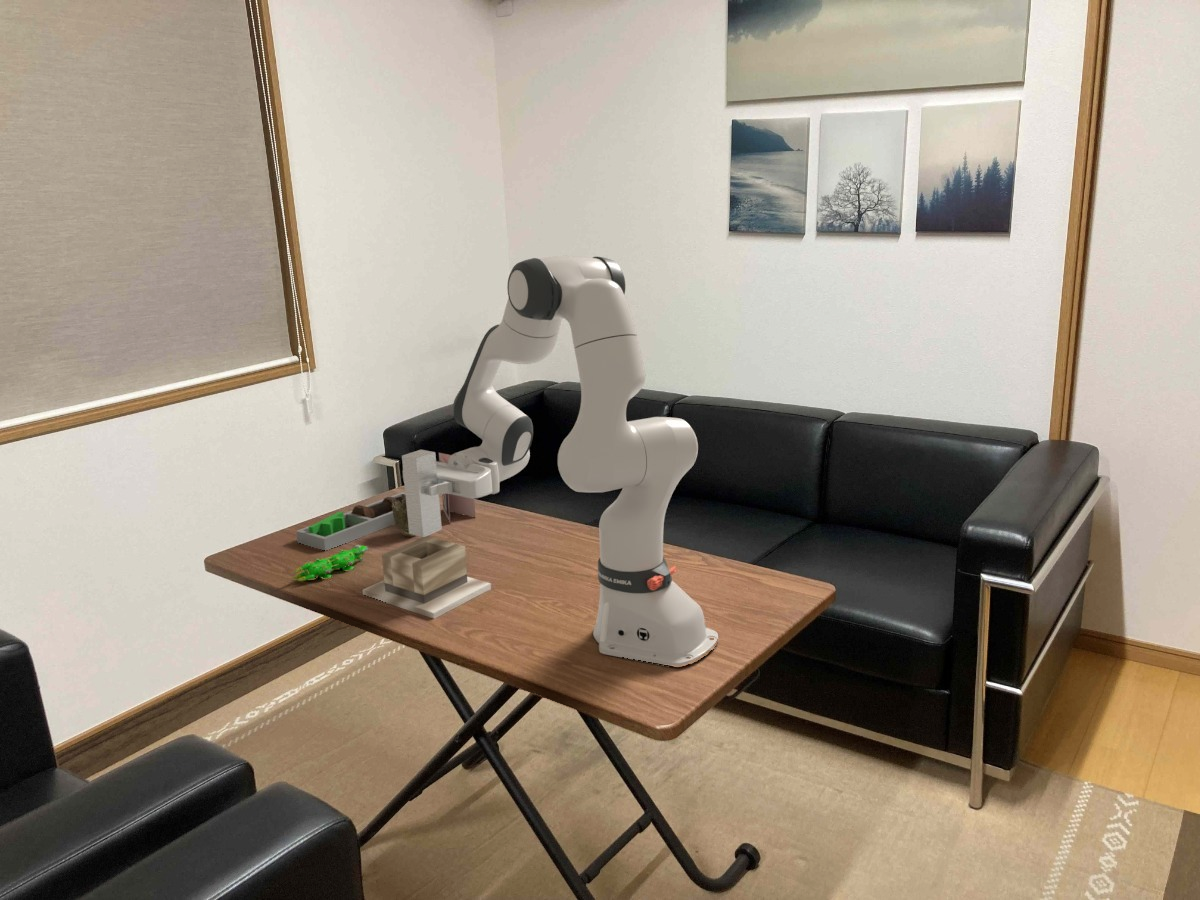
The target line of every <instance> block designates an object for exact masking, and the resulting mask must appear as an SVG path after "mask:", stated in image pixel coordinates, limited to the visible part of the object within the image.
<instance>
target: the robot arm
mask: <svg viewBox="0 0 1200 900" xmlns="http://www.w3.org/2000/svg"><path fill="white" fill-rule="evenodd" d="M506 289H507V295H508V298H507V302H506V306H505V308H504V312H503V316H502V320H501V322H500V323H499V324H495V325H494V326H492V327H490V328H489V329H488V330H487V332H486V333H485V334H484V336H483V338H482V340H481V341H480V343H479V346H478V348H477V350H476V353H475V355H474V358H473V361H472V363H471V365H470V368H469V371H468V373H467V376H466V377H465V380H464V383H463V385H461V388H459V389H460V390H459V391H458V393H457V394H456V396H455V398H454V400H453V407H452V408H453V409H452V411H453V418H454V420H455V422H456V423H457V424H459V425H461V426H462V427H464V428H465V429H467V430H468V431H470V432H472V433H473V434H475V435H476V436H477V437H478V438H480V439H481V440H482V443H481V444H480V445H479V446H473V447H469V448H466V449H464V450H460V451H458V452H454V453H453V454H451V455H452V456H451V457H450V458H449V460H448V463H442V462H439V461H438V462H437V461H436V467H437V479H438V484H436V485H429V486H426V488H425V490H426V495H430V496H434V495H437V494H439V495H442V494H447V493H448V494H453V495H457V496H462V497H467V498H474V499H479V498H483V497H486V496H488V495H495V494H498V493H499V492H500V483H501V482H503V481H505V480H507V479H510V478H511V477H514V476H515V475H517V474H519V473H520V472H521V471H522V470H524V468H526V466H527V465H528V463H529V460H530V457H531V455H530V454H531V452H530V451H531V450H530V447H531V446H532V442H533V438H534V425H533V422H532V421H533V420H532V419H531V418H530V417H529V415H527V414H525V413H524V412H523V411H522V410H520V409H519V408H518V407H516V406H515V405H513V404H512V403H511V402H509V401H508V400H507V399H505V398H504V397H502V396H501V395H500V394H499V393H498V392H497V391H496V389H495V387H494V386H493V382H494V380H495V377H496V375H497V372H498V370H499V367H500V365H501V363H502V361H503V362H507V363H510V364H511V363H512V364H514V365H515V364H516V365H531V364H535V363H538V362H541V361H542V360H545V359H546V358H547V357H548V356H550V354H551V353H552V352H553V350H554V348H555V346H556V343H557V340H558V336H559V334H560V333H559V332H560V328H561V325H562V320H563V319H565V320H566V321H567V322H568V324H569V326H570V327H569V328H570V330H571V337H572V344H573V348H574V354H575V359H576V364H577V369H578V370H577V371H578V375H579V383H580V392H581V394H580V395H581V397H580V398H581V399H580V407H579V411H578V415H577V418H576V421H575V423H574V426H572V427H573V428H572V429H571V431H569V433H568V435H567V436H566V437H565V438H564V439H563V441H562V443H561V444H560V447H559V449H558V453H557V467H558V468H557V469H558V471H559V474H560V477H561V478H562V480H563V482H564V483H565V485H567V487H569V488H570V489H572V491H575V492H576V493H577V492H578V493H605V492H610V491H615V490H620V489H622V490H621V491H620V493H619V494H618V495H617V498H616V499H615V500H614V501H613V503H611V504H610V505H609V506H608V507H607V508H606V509H605V510H604V511H603V513H602V514H601V516H600V519H599V525H598V533H599V558H598V561H597V579H598V582H599V585H600V586H599V599H598V600H599V601H598V609H597V616H596V621H595V625H594V628H593V631H592V635H593V637H594V639H595V641H596V642H597V643H598V651H599V653H600V654H602V655H607V656H613V657H618V658H622V657H624V659H627V658H628V659H629V660H633V659H635V660H634V661H638V660H641V661H640V662H643V661H646V662H645V663H648V662H652V663H651V664H653V662H654V663H660V664H667V665H668V664H669V665H677V666H679V665H683V664H686V663H689V662H692V661H694V660H696V659H698V658H699V657H701V656H702V655H703V654H705V653H706V652H707V651H708V650H710V649H711V648H712V647H713V646H714V644H715V643H716V641H717V639H718V640H719V634H718V632H717V631H715V630H713V629H712V628H709V627H706V620H705V615H704V612H703V609H702V607H701V606H700V605H699V604H698V603H697V602H696V601H695V600H694V599H693V598H691V597H690V596H689V595H688V594H687V592H685V591H684V590H683V589H682V588H681V587H680V586H679V585H678V584H677V583H676V582H674V581H673V577H672V575H674V574H675V573H676V572H677V570H676V568H677V565H674V566H672V567H669V566H668V564H667V561H666V559H665V557H664V529H665V528H664V526H665V525H664V523H665V518H666V513H667V509H668V505H669V503H670V501H671V498H672V495H673V493H674V491H675V490H676V487H677V486H678V485H679V482H680V481H681V480H682V478H683V477H684V476H685V475H686V474H687V473H688V472H689V471H690V469H692V467H693V466H694V464H695V463H696V460H697V457H698V455H699V454H698V451H699V443H698V438H697V436H696V432H695V430H694V429H693V428H692V426H691V425H690V424H689V423H688V422H687V421H686V420H685V419H684V418H683V419H682V418H678V417H671V416H669V417H667V416H652V417H648V418H641V419H634V420H629V421H627V407H628V404H629V401H630V400H631V399H633V398H634V397H635V396H636V395H637V394H638V393H639V392H640V391H641V390H642V388H643V387H644V384H645V381H646V376H647V375H646V370H645V366H644V362H643V356H642V352H641V351H642V350H641V347H640V342H639V337H638V332H637V329H636V325H635V321H634V318H633V315H632V311H631V308H630V306H629V303H628V301H627V297H626V296H625V293H626V279H625V275H624V272H623V271H622V268H621V266H620V265H619V264H618V263H617V262H616V261H615V260H613V259H611V258H607V257H604V256H603V257H601V256H593V257H588V256H570V255H557V256H548V257H543V258H541V257H540V258H537V257H533V258H532V257H531V258H528V259H525V260H522V261H520V262H517V263H516V264H515V265H514V266H513V267H512V269H511V271H510V273H509V275H508V279H507V288H506ZM402 479H403V481H404V474H403V473H402ZM710 638H714V640H710ZM689 657H690V659H687V658H689ZM628 659H627V660H628Z"/></svg>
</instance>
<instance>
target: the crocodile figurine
mask: <svg viewBox="0 0 1200 900" xmlns="http://www.w3.org/2000/svg"><path fill="white" fill-rule="evenodd" d="M367 551H368V546H366V545H360V544H356V545H354V547H353V548H351V549H349V550H348V549H347V550H346V549H344V550H343V549H341V550H340V551H339V552H338V553H336V554H333V555H332V554H330V555H329V557H326V558H320V559H319V558H315V559H314V561H307V562H305V563H304V564H303V565H302V566H301V567H297V568H296V569H295V571H294V572H293V573H294V574H295V573H296V574H295V575H294V576H293V577H292V579H294V580H296V581H299V582H305V581H310V580H311V581H312V580H316V579H318V578H320V577H323V578H328V577H331V576H332V575H331V573H332V572H333V571H335V570H338V571H340V569H342V570H343V571H344V570H350V569H353V568H354V569H355V566H352V565H354V564H355V563H356V560H359V561H361V562H362V561H363V560H364V559H363V557H364V555H366V554H365V553H366V552H367ZM348 565H351V566H348ZM345 566H346V567H345ZM315 577H316V578H315Z"/></svg>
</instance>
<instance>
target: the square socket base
mask: <svg viewBox="0 0 1200 900" xmlns="http://www.w3.org/2000/svg"><path fill="white" fill-rule="evenodd" d="M466 555H467V554H466V546H465V545H463V544H459V543H456V542H455V543H454V542H452V541H447V540H443V539H440V538H436V537H431V536H430V535H428V536H426V537H420V538H417V539H416V540H413V541H410V542H408V543H407V544H406V543H405V544H404V545H402V546H399V547H396V548H394V549H392V550H390V551H389V550H388V551H387V552H385V553H383V554H381V559H382V560H381V561H382V568H383V569H382V570H383V580H381V581H379V582H377V583H374V584H371V585H370V586H367V587H366V588H363V589H362V595H363V594H364V595H367V596H370V597H372V598H371V599H373V598H375V599H374V600H376V599H378V600H377V601H379V600H381V601H380V602H382V601H383V603H385V602H386V603H385V604H388V605H392V606H394V607H397V608H401V609H403V610H406V611H410V612H412V613H416V614H417V615H418V614H419V615H422V616H425V617H427V618H430V619H431V618H432V619H434V620H435V619H436V618H438V617H441V616H442V615H444V614H446V613H448V612H449V611H452V610H453V609H456V608H457V607H459V606H461V605H464V604H465V603H467V602H469V601H471V600H473V599H476V597H479V596H480V595H483V594H484V593H486V592H488V591H490V590H492V583H490V582H487V581H485V580H484V581H483V580H480V579H477V578H475V577H474V578H473V577H470V576H468V572H467V571H468V568H467V556H466ZM364 595H363V596H364ZM367 596H366V597H367ZM370 597H369V598H370Z"/></svg>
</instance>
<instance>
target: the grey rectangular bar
mask: <svg viewBox="0 0 1200 900" xmlns="http://www.w3.org/2000/svg"><path fill="white" fill-rule="evenodd" d="M436 456H437V455H436V452H435V451H430V450H427V449H426V450H425V449H419V450H416V451H413V452H408V453H406V454H403V455H401V461H402V462H401V463H402V475H403V474H404V480H403V483H404V493H405V495H406V505H407V516H408V526H409V534H412V535H416V536H417V537H420V538H422V537H426V536H430V535H432V534H434V533H437V532H440V531H442V530H443V527H442V516H441V504H440V494H437V495H434V496H430V495H426V490H425V488H426V486H429V485H436V484H438V479H437V467H436V462H437V458H436Z"/></svg>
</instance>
